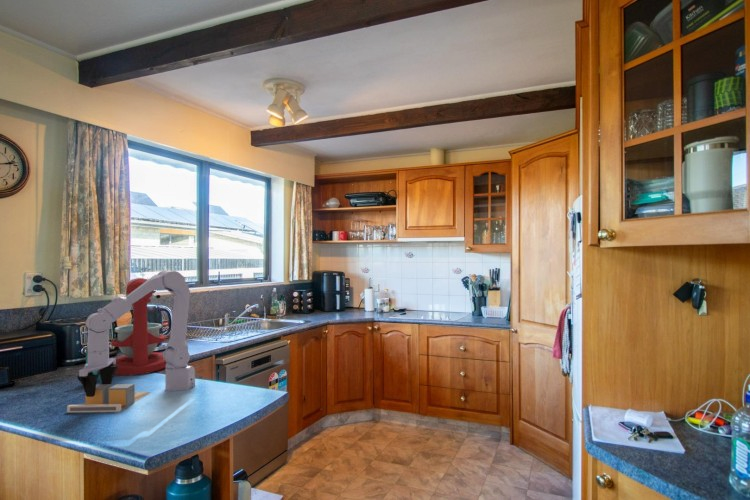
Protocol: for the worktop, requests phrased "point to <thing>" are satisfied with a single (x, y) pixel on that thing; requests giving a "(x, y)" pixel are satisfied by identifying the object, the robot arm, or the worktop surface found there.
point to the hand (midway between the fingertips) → (98, 392)
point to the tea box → (99, 395)
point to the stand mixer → (139, 338)
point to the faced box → (121, 394)
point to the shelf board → (137, 396)
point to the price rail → (94, 408)
